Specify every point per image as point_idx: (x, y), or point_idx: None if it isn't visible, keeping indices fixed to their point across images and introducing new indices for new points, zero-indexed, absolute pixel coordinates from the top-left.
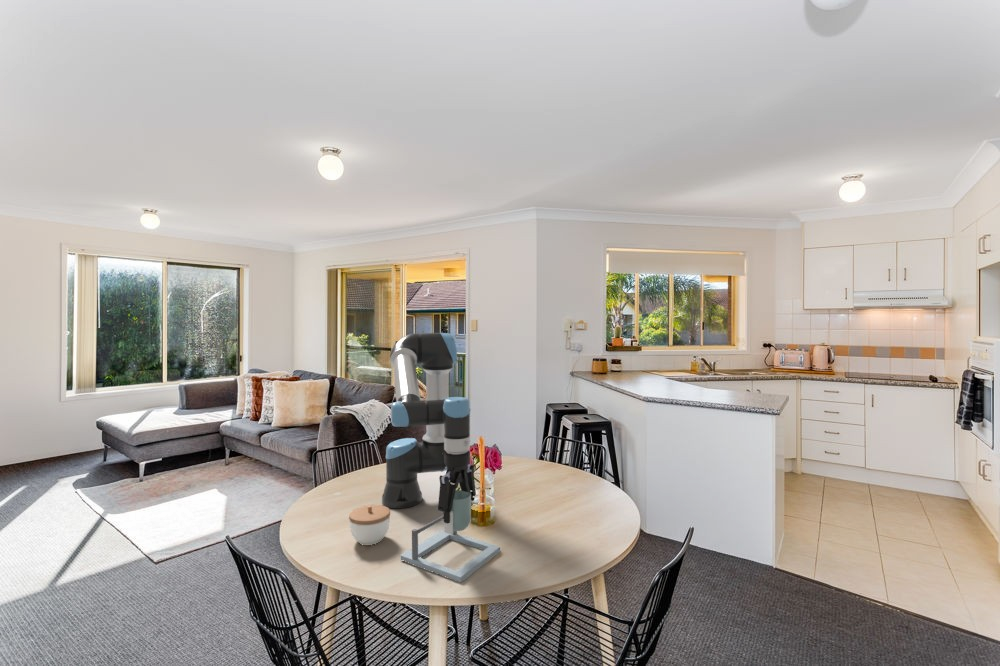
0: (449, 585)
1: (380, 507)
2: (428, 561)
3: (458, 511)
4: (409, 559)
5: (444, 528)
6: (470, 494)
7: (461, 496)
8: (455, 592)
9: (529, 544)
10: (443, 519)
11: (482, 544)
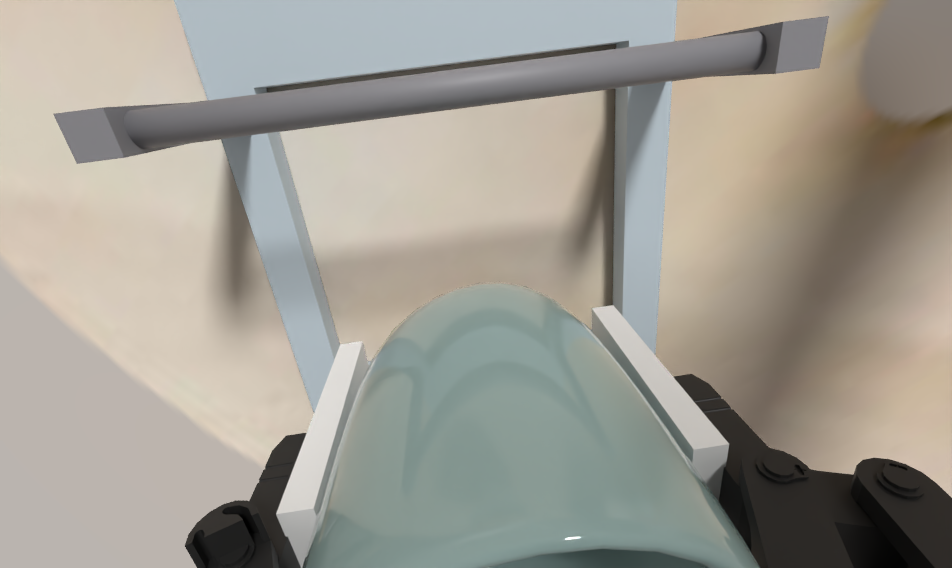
0: (274, 391)
1: None
2: (283, 211)
3: None
4: (205, 81)
5: (333, 366)
6: None
7: (678, 559)
8: (263, 438)
9: (762, 410)
10: (266, 465)
11: (626, 302)
